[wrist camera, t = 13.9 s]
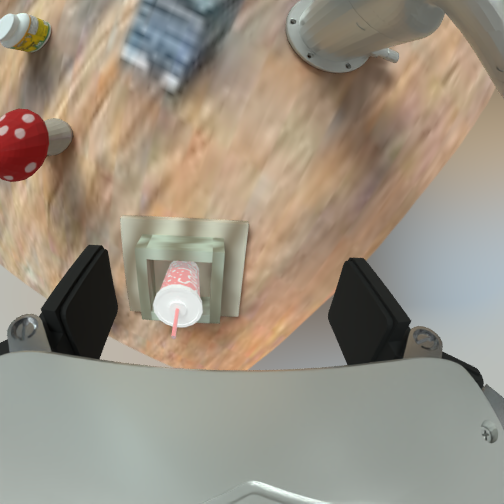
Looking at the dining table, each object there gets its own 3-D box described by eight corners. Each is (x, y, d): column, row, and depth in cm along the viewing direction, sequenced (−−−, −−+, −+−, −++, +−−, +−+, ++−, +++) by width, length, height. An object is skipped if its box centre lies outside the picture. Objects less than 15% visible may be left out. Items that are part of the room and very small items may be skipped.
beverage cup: (212, 275, 42) (213, 342, 29) (180, 295, 43) (171, 362, 30) (187, 244, 39) (176, 305, 27) (155, 266, 40) (134, 330, 27)
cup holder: (247, 221, 40) (252, 237, 35) (237, 312, 47) (240, 335, 42) (122, 215, 37) (109, 230, 32) (131, 306, 44) (124, 328, 39)
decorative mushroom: (30, 164, 31) (-34, 192, 18) (34, 109, 27) (-33, 116, 14) (81, 166, 33) (21, 195, 20) (87, 106, 29) (24, 106, 16)
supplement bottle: (55, 18, 21) (22, 3, 13) (48, 48, 24) (12, 38, 15) (29, 27, 20) (-5, 17, 12) (23, 56, 23) (-14, 50, 14)
